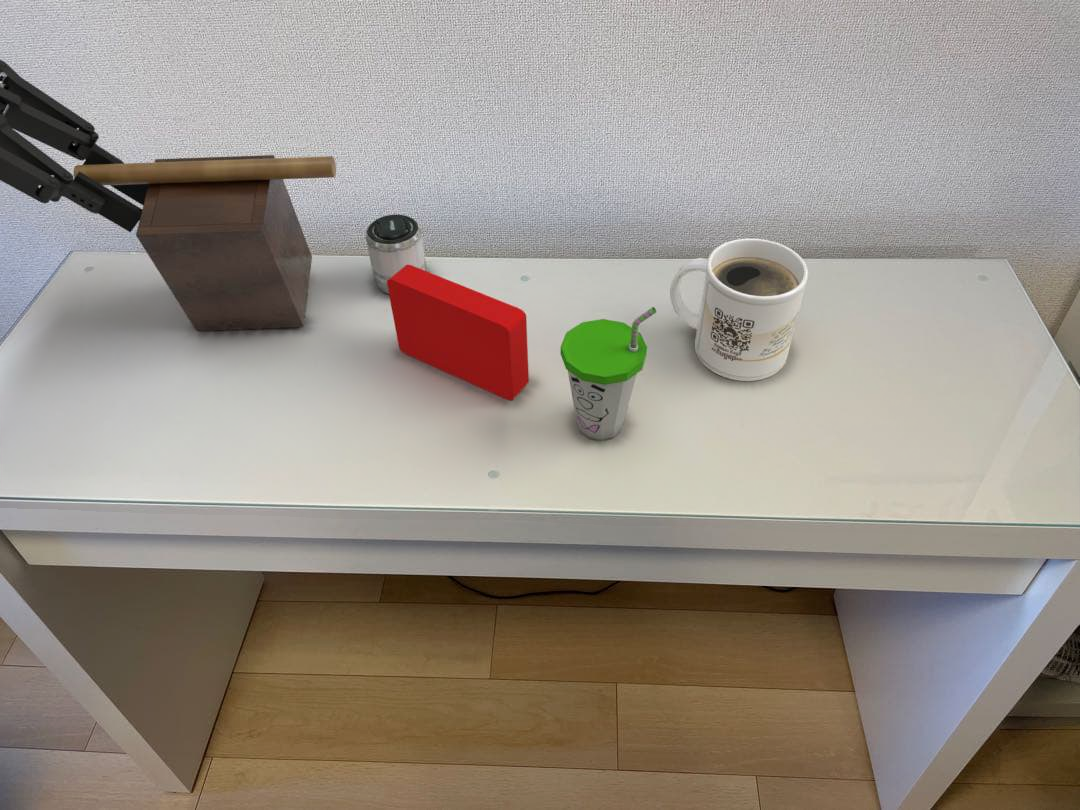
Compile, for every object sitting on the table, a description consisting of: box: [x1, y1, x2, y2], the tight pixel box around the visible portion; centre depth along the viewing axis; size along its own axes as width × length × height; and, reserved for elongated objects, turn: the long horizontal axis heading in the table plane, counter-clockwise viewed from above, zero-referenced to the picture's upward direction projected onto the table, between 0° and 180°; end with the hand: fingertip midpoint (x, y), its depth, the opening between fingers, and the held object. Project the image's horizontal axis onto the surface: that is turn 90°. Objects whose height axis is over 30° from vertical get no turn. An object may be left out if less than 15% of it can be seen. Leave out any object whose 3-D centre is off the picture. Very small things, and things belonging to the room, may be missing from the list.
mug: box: [669, 237, 809, 382], centre depth 88 cm, size 10×12×11 cm
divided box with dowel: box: [73, 154, 337, 332], centre depth 90 cm, size 18×25×10 cm
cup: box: [560, 306, 657, 442], centre depth 79 cm, size 8×8×15 cm
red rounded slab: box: [387, 265, 530, 401], centre depth 87 cm, size 15×3×10 cm, turn 58°
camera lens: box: [364, 214, 427, 295], centre depth 98 cm, size 6×6×8 cm
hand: (143, 208), depth 86 cm, fingers open, 4 cm apart
